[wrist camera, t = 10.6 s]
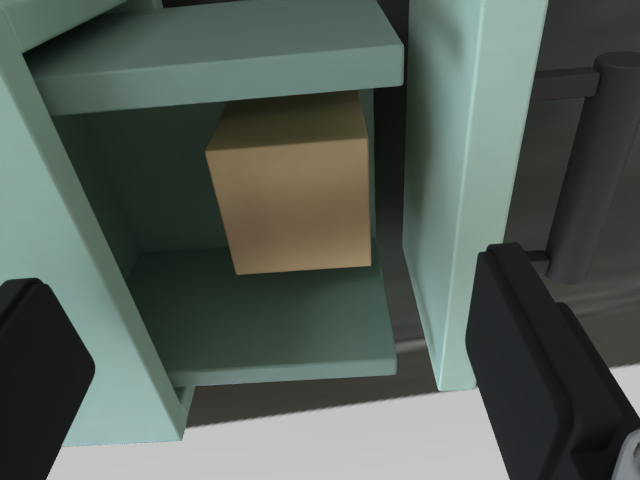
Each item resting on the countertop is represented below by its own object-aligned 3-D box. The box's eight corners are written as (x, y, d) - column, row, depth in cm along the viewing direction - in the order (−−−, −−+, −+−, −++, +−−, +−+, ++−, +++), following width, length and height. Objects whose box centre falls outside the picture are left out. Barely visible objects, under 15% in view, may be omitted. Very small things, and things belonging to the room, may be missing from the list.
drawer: (586, -61, 14) (806, -33, 8) (521, 238, 21) (610, 383, 14) (30, -5, 15) (-181, 61, 9) (141, 264, 22) (68, 412, 15)
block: (229, 95, 16) (203, 151, 12) (357, 84, 15) (368, 137, 12) (251, 204, 18) (235, 275, 15) (361, 195, 18) (371, 266, 15)
